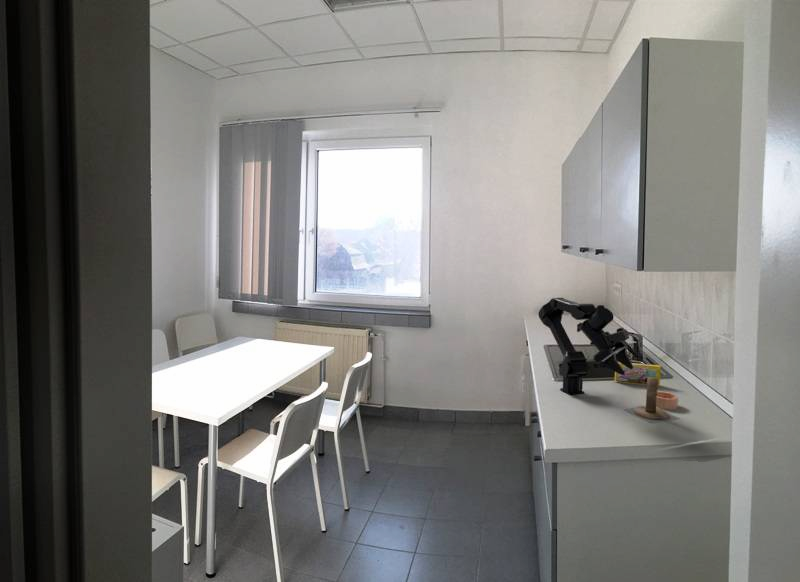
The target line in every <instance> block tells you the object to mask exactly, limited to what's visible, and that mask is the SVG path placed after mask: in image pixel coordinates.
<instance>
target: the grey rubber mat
mask: <svg viewBox="0 0 800 582" xmlns="http://www.w3.org/2000/svg"><path fill="white" fill-rule="evenodd" d="M634 408H635V407H631V408H625V409H622V411H623V412H625V413H627V414H630V415H632V416H634V417H637V418H639V419H641V420H643V421H645V422H648V423H649V424H654V423H655V424H656V423H662V422H668V421H674V420H675V421H676V420H680V419H681V418H680V417H678V416H675V415H673V414H671V413H669V412H667V413H668V418H667V419H664V420H652V419H647V418H643V417H640V416H638V415H636V414H635V413H634Z"/></svg>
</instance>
